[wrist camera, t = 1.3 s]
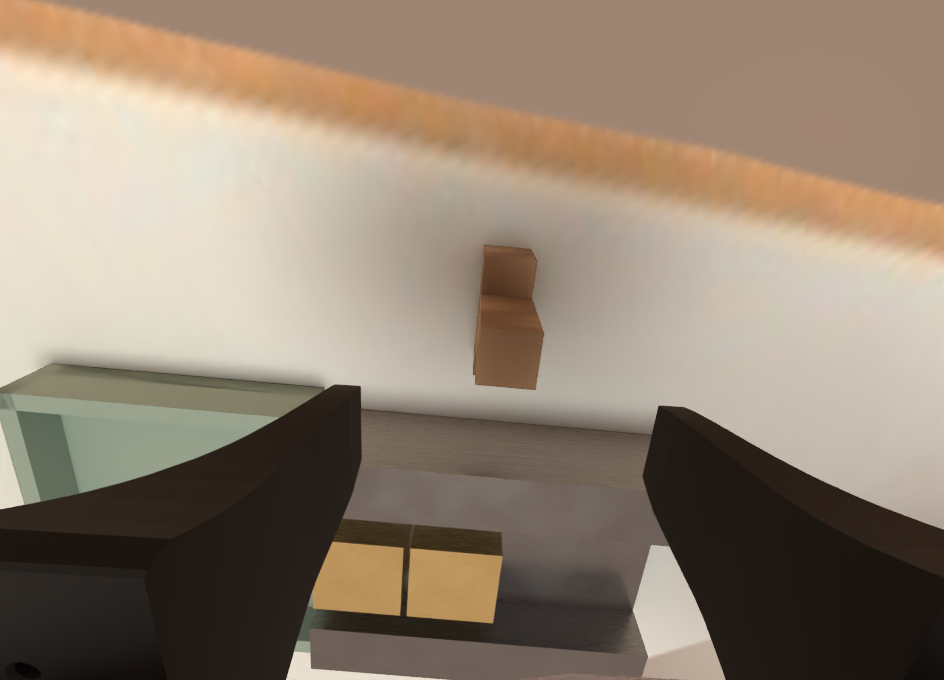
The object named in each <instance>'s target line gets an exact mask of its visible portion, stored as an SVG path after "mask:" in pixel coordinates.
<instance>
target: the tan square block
mask: <svg viewBox="0 0 944 680" xmlns="http://www.w3.org/2000/svg"><path fill="white" fill-rule="evenodd" d="M502 558H503V553H502V533H501V532H495V531H483V530H472V529H460V528H448V527H436V526H425V525H415V526H414V532H413V537H412V543H411V548H410V565H409V582H408V600H407V616H410V617H423V618H435V619H447V620H459V621H471V622H483V623H493V620H494V613H495V606H496V599H497V592H498V585H499V578H500V571H501V564H502Z"/></svg>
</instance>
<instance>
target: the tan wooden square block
mask: <svg viewBox="0 0 944 680" xmlns="http://www.w3.org/2000/svg"><path fill="white" fill-rule="evenodd" d="M409 542H410V524H401V523H389V522H378V521H366V520H354V519H342V521H341V523H340V525H339V528H338V530H337V532H336V535H335V537H334V539H333V542H332V544H331V547H330V549H329V551H328V554H327V556H326V558H325V561H324V563H323V565H322V568H321V570H320V573H319V575H318V578H317V580H316V583H315V586H314V588H313V609H326V610H338V611H350V612H362V613H374V614H386V615H398V616H400V613H401V608H402V602H403V596H404V591H405V585H406V580H407V574H408V560H409Z"/></svg>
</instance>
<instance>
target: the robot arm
mask: <svg viewBox="0 0 944 680" xmlns="http://www.w3.org/2000/svg"><path fill="white" fill-rule="evenodd" d="M361 460H362V440H361V386H350V385H333V386H331V387H329V388H328V389H326V390H324V391H322V392H321V393H319V394H318V395H316V396H314V397H313V398H311V399H310V400H308V401H306V402H305V403H303V404H301V405H300V406H298V407H296V408H295V409H293V410H292V411H290V412H288V413H287V414H285V415H283V416H282V417H280V418H278V419H276V420H274V421H273V422H271V423H269V424H267V425H265V426H263V427H262V428H260V429H258V430H256V431H254V432H252V433H251V434H249V435H247V436H245V437H243V438H241V439H239V440H237V441H234V442H232V443H230V444H228V445H226V446H224V447H221V448H219V449H217V450H214V451H212V452H210V453H207V454H205V455H202V456H200V457H197V458H195V459H192V460H189V461H186V462H183V463H181V464H178V465H175V466H172V467H169V468H166V469H163V470H161V471H158V472H155V473H152V474H149V475H146V476H143V477H139V478H136V479H132V480H129V481H125V482H122V483H118V484H115V485H111V486H107V487H103V488H99V489H95V490H92V491H88V492H83V493H79V494H75V495H71V496H66V497H61V498H56V499H51V500H46V501H41V502H36V503H31V504H26V505H21V506H16V507H11V508H6V509H0V680H286V677H287V674H288V670H289V667H290V664H291V660H292V657H293V653H294V650H295V646H296V643H297V639H298V636H299V633H300V629H301V626H302V623H303V620H304V616H305V613H306V610H307V607H308V603H309V600H310V597H311V594H312V591H313V588H314V586H315V583H316V580H317V578H318V575H319V573H320V570H321V568H322V565H323V563H324V561H325V558H326V556H327V554H328V551H329V549H330V547H331V544H332V542H333V539H334V537H335V535H336V532H337V530H338V528H339V525H340V523H341V521H342V518H343V516H344V513H345V511H346V508H347V506H348V504H349V501H350V499H351V496H352V494H353V490H354V486H355V483H356V479H357V475H358V471H359V468H360V464H361ZM642 477H643V481H644V484H645V487H646V491H647V494H648V497H649V500H650V503H651V506H652V509H653V512H654V515H655V517H656V519H657V521H658V523H659V525H660V528H661V530H662V532H663V534H664V536H665V538H666V540H667V542H668V544H669V546H670V548H671V550H672V552H673V554H674V557H675V559H676V561H677V563H678V565H679V567H680V569H681V571H682V573H683V575H684V577H685V579H686V581H687V583H688V585H689V587H690V589H691V591H692V593H693V595H694V597H695V600H696V602H697V604H698V607H699V609H700V611H701V613H702V616H703V618H704V621H705V623H706V626H707V629H708V632H709V634H710V637H711V640H712V642H713V645H714V648H715V650H716V653H717V656H718V659H719V662H720V664H721V667H722V670H723V673H724V676H725V679H726V680H944V530H943V529H940V528H937V527H934V526H931V525H928V524H926V523H923V522H920V521H918V520H915V519H912V518H910V517H907V516H904V515H902V514H899V513H896V512H894V511H891V510H888V509H886V508H883V507H881V506H878V505H876V504H873V503H871V502H868V501H866V500H863V499H861V498H859V497H857V496H854V495H852V494H850V493H848V492H845V491H843V490H841V489H839V488H836V487H834V486H832V485H830V484H827V483H825V482H823V481H821V480H819V479H817V478H815V477H813V476H811V475H809V474H807V473H805V472H803V471H801V470H799V469H797V468H795V467H793V466H791V465H789V464H787V463H785V462H784V461H782V460H780V459H778V458H776V457H774V456H772V455H771V454H769V453H767V452H765V451H763V450H762V449H760V448H758V447H756V446H754V445H753V444H751V443H749V442H747V441H746V440H744V439H742V438H741V437H739V436H737V435H735V434H734V433H732V432H730V431H728V430H727V429H725V428H723V427H721V426H720V425H718V424H716V423H714V422H713V421H711V420H709V419H707V418H705V417H704V416H702V415H700V414H698V413H696V412H694V411H692V410H689V409H687V408H684V407H672V406H659V407H658V411H657V415H656V419H655V424H654V428H653V432H652V437H651V441H650V445H649V449H648V454H647V458H646V462H645V466H644V471H643V475H642ZM522 680H676V679H658V678H641V677H623V676H606V675H588V674H570V673H569V674H561V675H553V676H545V677H537V678H529V679H522Z"/></svg>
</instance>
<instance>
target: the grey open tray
mask: <svg viewBox="0 0 944 680" xmlns="http://www.w3.org/2000/svg"><path fill="white" fill-rule="evenodd" d="M651 437H652V435H645V434H634V433H622V432H611V431H600V430H588V429H577V428H566V427H554V426H543V425H532V424H520V423H509V422H498V421H486V420H475V419H464V418H452V417H441V416H430V415H418V414H407V413H396V412H384V411H373V410H362V409H361V440H362V460H361V464H360V468H359V471H358V475H357V479H356V483H355V486H354V490H353V494H352V496H351V499H350V501H349V504H348V506H347V508H346V511H345V513H344V516H343V518H342V519H354V520H366V521H378V522H389V523H401V524H410V542H409V560H408V574H407V580H406V585H405V591H404V596H403V602H402V608H401V613H400V616H398V615H386V614H374V613H362V612H350V611H338V610H326V609H317V610H316V612H315V615H314V618H313V621H312V623H311V626H310V651H311V668H312V669H324V670H336V671H349V672H361V673H373V674H386V675H398V676H411V677H423V678H435V679H448V680H522V679H529V678H537V677H545V676H553V675H561V674H569V673H570V674H588V675H606V676H623V677H642V674H643V670H644V667H645V664H646V661H647V658H648V655H647V652H646V649H645V646H644V643H643V640H642V637H641V634H640V631H639V628H638V625H637V622H636V619H635V616H634V613H633V607H634V603H635V600H636V596H637V593H638V589H639V585H640V582H641V578H642V575H643V571H644V568H645V564H646V560H647V557H648V553H649V550H650V546H651V545H660V546H669V544H668V542H667V540H666V538H665V536H664V534H663V532H662V530H661V528H660V525H659V523H658V521H657V519H656V517H655V515H654V512H653V509H652V506H651V503H650V500H649V497H648V494H647V491H646V487H645V484H644V481H643V477H642V475H643V471H644V466H645V462H646V458H647V454H648V449H649V445H650V441H651ZM415 525H425V526H436V527H448V528H460V529H472V530H483V531H495V532H501V533H502V553H503V558H502V564H501V571H500V578H499V585H498V592H497V599H496V606H495V613H494V620H493V623H483V622H471V621H459V620H447V619H435V618H423V617H410V616H407V600H408V582H409V565H410V548H411V543H412V537H413V532H414V526H415Z"/></svg>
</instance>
